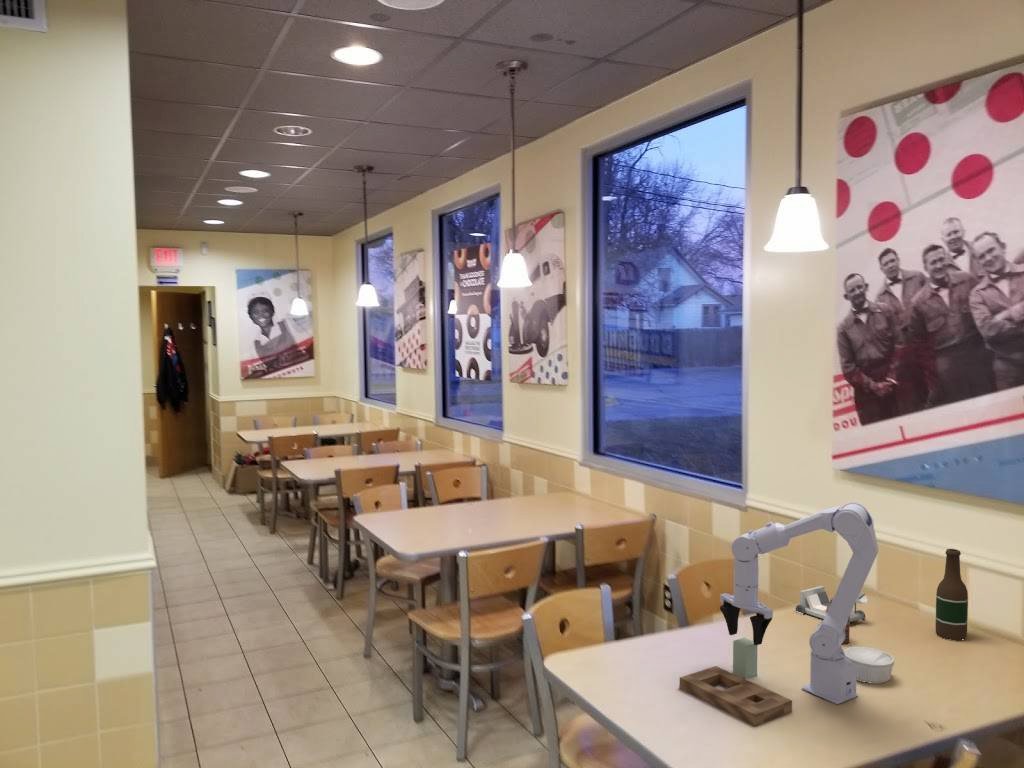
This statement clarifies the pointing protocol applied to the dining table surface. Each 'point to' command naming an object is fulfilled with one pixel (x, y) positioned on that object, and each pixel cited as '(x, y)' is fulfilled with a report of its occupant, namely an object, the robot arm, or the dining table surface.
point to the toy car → (824, 603)
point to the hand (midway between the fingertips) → (745, 639)
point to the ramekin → (870, 663)
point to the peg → (744, 658)
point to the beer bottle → (952, 600)
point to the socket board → (736, 695)
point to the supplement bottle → (847, 627)
